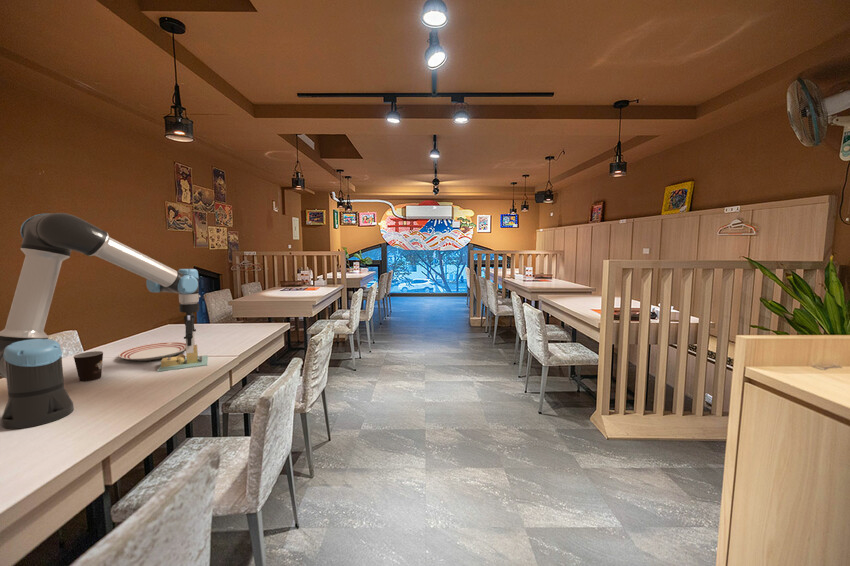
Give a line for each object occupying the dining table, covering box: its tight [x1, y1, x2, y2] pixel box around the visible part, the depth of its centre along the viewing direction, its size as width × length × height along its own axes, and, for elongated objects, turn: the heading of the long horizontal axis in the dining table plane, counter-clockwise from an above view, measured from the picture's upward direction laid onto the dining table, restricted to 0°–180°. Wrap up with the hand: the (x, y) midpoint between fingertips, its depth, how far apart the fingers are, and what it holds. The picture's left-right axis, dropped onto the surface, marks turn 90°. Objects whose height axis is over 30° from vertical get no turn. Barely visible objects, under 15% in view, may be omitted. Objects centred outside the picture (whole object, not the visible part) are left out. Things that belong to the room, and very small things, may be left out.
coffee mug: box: [73, 350, 104, 383], centre depth 145 cm, size 12×9×10 cm
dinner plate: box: [118, 341, 186, 362], centre depth 176 cm, size 28×27×3 cm
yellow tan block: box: [184, 344, 198, 364], centre depth 165 cm, size 6×5×7 cm
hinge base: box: [157, 353, 209, 373], centre depth 164 cm, size 16×18×4 cm
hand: (190, 349), depth 165 cm, fingers open, 13 cm apart
